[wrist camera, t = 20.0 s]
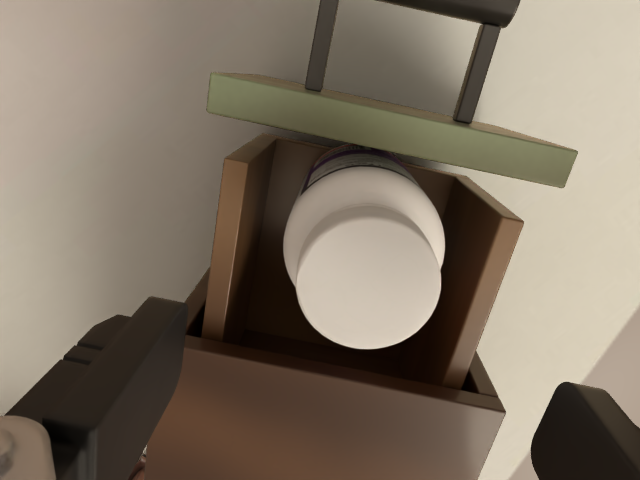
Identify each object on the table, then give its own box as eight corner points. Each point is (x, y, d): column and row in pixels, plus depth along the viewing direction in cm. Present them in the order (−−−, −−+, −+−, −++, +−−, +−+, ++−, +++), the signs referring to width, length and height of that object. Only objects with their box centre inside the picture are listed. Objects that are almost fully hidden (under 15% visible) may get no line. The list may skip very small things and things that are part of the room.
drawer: (274, -43, 19) (230, -118, 12) (533, 15, 19) (649, -24, 12) (220, 324, 25) (170, 425, 18) (418, 364, 26) (448, 479, 18)
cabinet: (224, 245, 25) (155, 341, 16) (447, 291, 25) (507, 412, 16) (196, 448, 30) (131, 610, 21) (383, 485, 30) (400, 661, 21)
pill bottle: (381, 268, 22) (407, 398, 13) (283, 224, 22) (239, 327, 13) (436, 171, 21) (508, 243, 12) (330, 120, 20) (318, 154, 11)
